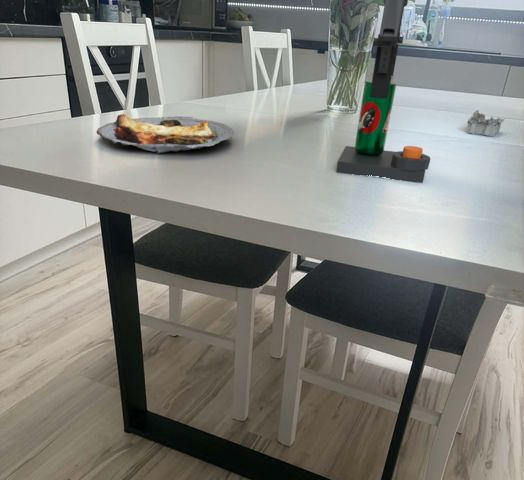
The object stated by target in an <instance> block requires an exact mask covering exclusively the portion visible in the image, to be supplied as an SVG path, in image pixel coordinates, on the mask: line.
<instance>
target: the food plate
mask: <svg viewBox="0 0 524 480" xmlns="http://www.w3.org/2000/svg"><path fill="white" fill-rule="evenodd" d="M96 134H97V135H99V136H100V137H101V139H102V140H105V141H109V144H111V143H112V144H114V145H115V144H117V143H120V144H121V145H122V146H130V145H131V146H135V147H137V148H139V149H142V150H145V151H148V152H154V153H155V152H157V154H160V153H167V152H179V151H188V150H197V149H202V148H205V147H206V148H208V147H212V146H214V145H217V144H220V142H223V141H226V140H230V138H231V137H233V136H234V135H235V128H234V127H231V126H229V125H228V124H226V123H223V122H220V121H219V122H218V121H213V120H208V119H200V118H196V117H191V116H161V117H137V118H136V117H135V118H131V117H130V116H129V115H127V114H123V113H122V114H118V115H117V116H116V119H115V121H114V122H108V123H106V124H104V125H102V126H100V127H98V128H97V130H96Z"/></svg>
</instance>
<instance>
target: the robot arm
mask: <svg viewBox="0 0 524 480" xmlns="http://www.w3.org/2000/svg"><path fill="white" fill-rule="evenodd" d="M408 3H409V0H383V5H384V6H383V12H382V18H381V23H380V29H379V33H378V35H377V37H373V42H372V47H376V53H375V60H374V66H373V72H372V74H373V78H372V85H371V91H370V97H374V98H386V99H388V94H389V88H390V82H391V76H392V75H393V76H394V72H395V67H396V61H397V56H398V49H399V44H400V45H403V42H404V36H401V30H402V29H401V28H402V21H403V17H404V10H405V7H407V6H408Z"/></svg>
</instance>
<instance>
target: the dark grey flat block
mask: <svg viewBox="0 0 524 480" xmlns="http://www.w3.org/2000/svg"><path fill="white" fill-rule="evenodd" d="M402 153H403V150H401V151H400V150H399V151H392V150H385V149H384V152H383V153H382V154H381V155H379V156H364V155H360V154H358V153H357V152H356V151H355V146H350V145H346V146H344V149H343V151H342V152H341V155H340V156H339V158H338V160H337V164H336V171H335V173H338V174H345V175H352V174H354V175H353V176H360V175H368V176H369V175H370V176H371V175H372V176H379V177H386V178H390V179H389V180H392V179H394V180H393V181H400V180H401V181H403V182H407V183H417V184H423V183H424V179H425V174H426V171H427V170H429V167H430V162H431V156H429V155H427V154H425V153H422V155H421V159H414V158H407V157H403V156H402ZM368 176H367V177H368Z"/></svg>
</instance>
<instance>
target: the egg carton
mask: <svg viewBox="0 0 524 480" xmlns="http://www.w3.org/2000/svg"><path fill="white" fill-rule="evenodd" d="M479 111H480V110H479V109H477V110H475V111H474V112H473V114H472V115H471V116H470V117H469V118H467V122H466V124H467V126H466V129H465V133H468V134H473V135H482V136H487V137H495V136H496V135H497V134H498V133H499V132H500V130H501V126H502V123H503V122H504V121H505V120H506V118H505V117H504V118H501V117H497V118H494V117H493V116H491V117H490V118H487V119H486V115H485V114H484V113H480V112H479Z"/></svg>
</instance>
